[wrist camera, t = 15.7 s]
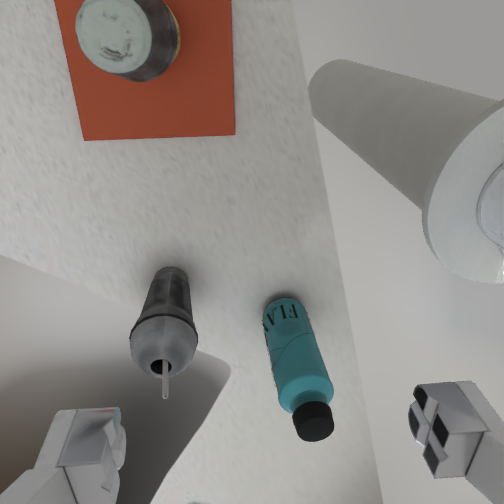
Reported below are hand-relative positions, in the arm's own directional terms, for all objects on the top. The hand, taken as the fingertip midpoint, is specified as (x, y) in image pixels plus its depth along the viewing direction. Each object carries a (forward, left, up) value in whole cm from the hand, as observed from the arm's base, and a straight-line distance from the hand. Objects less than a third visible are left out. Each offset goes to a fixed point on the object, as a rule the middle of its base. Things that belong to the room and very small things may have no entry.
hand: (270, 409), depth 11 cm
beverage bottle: (-8, +27, -39) cm, 48 cm away
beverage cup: (+7, +21, -39) cm, 44 cm away
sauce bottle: (+6, -8, -38) cm, 39 cm away
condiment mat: (+6, -8, -39) cm, 40 cm away
